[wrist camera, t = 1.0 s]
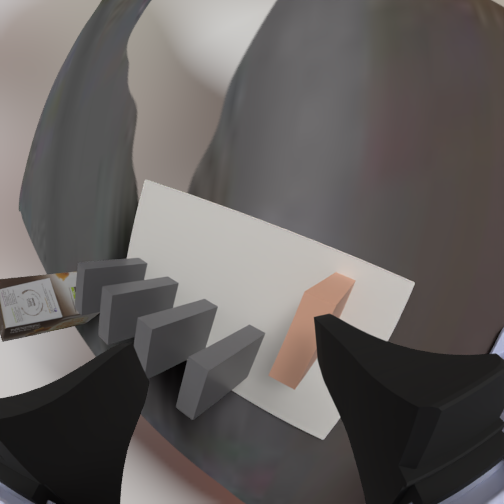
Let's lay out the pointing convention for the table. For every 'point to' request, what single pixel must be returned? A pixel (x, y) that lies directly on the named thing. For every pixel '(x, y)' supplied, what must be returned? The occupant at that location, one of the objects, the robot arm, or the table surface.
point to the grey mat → (259, 288)
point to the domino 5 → (309, 328)
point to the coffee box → (38, 305)
